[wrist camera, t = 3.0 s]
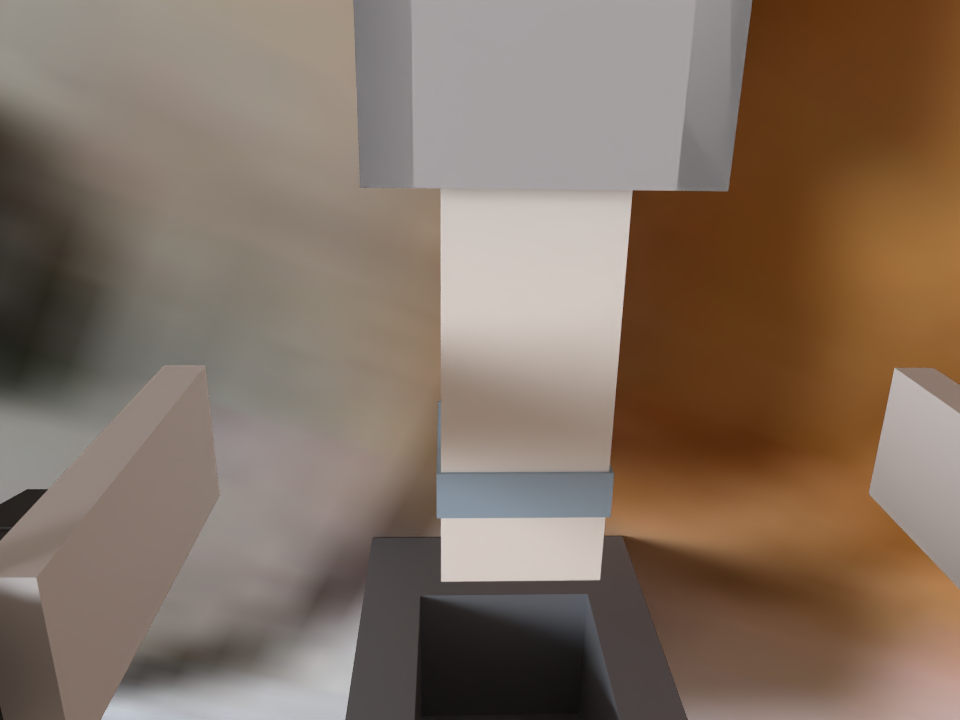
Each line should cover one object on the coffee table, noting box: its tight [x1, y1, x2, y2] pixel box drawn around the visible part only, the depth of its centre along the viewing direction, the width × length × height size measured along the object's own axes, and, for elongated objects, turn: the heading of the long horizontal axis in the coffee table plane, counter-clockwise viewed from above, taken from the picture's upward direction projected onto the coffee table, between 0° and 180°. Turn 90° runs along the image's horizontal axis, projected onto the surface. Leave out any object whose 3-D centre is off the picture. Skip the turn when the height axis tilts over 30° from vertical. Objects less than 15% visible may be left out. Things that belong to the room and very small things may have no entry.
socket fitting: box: [346, 536, 688, 720], centre depth 26 cm, size 6×9×10 cm, turn 89°
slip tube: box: [437, 188, 633, 582], centre depth 19 cm, size 19×4×4 cm, turn 179°
